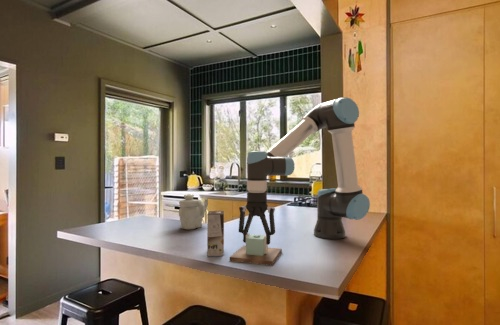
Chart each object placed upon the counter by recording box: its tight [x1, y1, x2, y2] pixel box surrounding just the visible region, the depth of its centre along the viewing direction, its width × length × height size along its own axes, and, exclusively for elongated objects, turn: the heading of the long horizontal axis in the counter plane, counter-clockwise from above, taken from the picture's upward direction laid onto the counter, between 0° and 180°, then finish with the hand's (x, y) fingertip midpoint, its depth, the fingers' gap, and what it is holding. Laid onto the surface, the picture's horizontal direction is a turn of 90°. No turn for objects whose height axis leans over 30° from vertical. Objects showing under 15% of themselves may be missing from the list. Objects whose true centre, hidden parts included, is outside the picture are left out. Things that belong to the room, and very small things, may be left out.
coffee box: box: [206, 210, 225, 257], centre depth 119 cm, size 9×6×16 cm
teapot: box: [178, 193, 209, 230], centre depth 167 cm, size 16×15×19 cm
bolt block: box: [229, 245, 283, 267], centre depth 114 cm, size 16×16×6 cm
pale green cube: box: [245, 233, 266, 256], centre depth 114 cm, size 6×6×6 cm
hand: (256, 251), depth 114 cm, fingers closed on pale green cube, 6 cm apart
